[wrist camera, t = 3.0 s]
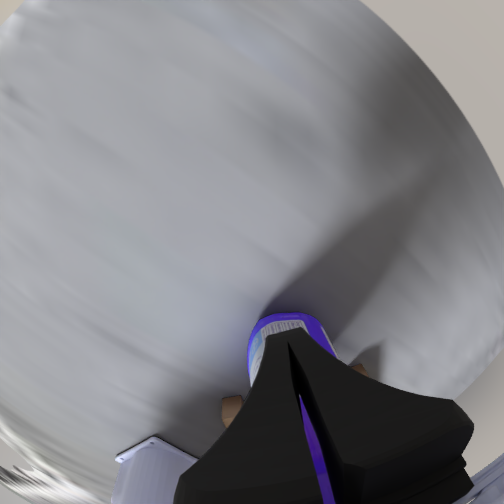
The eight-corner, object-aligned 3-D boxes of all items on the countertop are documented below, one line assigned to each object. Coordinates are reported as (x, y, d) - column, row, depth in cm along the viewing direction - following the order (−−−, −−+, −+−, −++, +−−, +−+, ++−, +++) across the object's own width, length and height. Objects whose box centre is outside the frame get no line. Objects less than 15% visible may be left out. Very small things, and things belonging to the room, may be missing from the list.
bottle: (245, 304, 20) (269, 585, 3) (324, 300, 20) (455, 526, 3) (247, 382, 22) (264, 591, 5) (315, 376, 22) (380, 567, 5)
